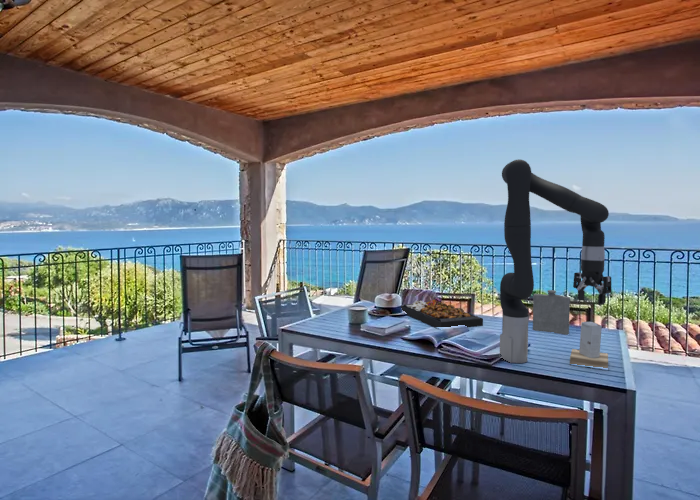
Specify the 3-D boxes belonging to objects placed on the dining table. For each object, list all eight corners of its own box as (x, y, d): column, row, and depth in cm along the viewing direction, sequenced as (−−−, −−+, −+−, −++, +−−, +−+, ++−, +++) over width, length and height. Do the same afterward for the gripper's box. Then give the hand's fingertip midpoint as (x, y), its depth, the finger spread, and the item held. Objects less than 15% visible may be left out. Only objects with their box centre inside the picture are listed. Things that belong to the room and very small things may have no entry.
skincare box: (578, 353, 162) (579, 321, 161) (589, 352, 162) (590, 321, 162) (589, 358, 156) (590, 325, 155) (601, 357, 156) (602, 325, 155)
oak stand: (607, 370, 151) (608, 362, 151) (569, 365, 157) (570, 357, 157) (607, 361, 161) (607, 353, 161) (571, 356, 168) (572, 348, 167)
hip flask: (531, 330, 208) (532, 289, 207) (533, 328, 212) (534, 288, 210) (568, 335, 199) (569, 292, 198) (569, 333, 202) (570, 291, 201)
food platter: (399, 312, 251) (399, 295, 251) (436, 310, 260) (436, 293, 259) (440, 331, 209) (441, 310, 208) (482, 327, 217) (483, 306, 217)
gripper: (568, 257, 162) (567, 299, 163) (602, 260, 149) (600, 306, 150) (584, 256, 165) (582, 298, 166) (618, 260, 151) (616, 305, 152)
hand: (591, 302), depth 158 cm, fingers open, 8 cm apart
